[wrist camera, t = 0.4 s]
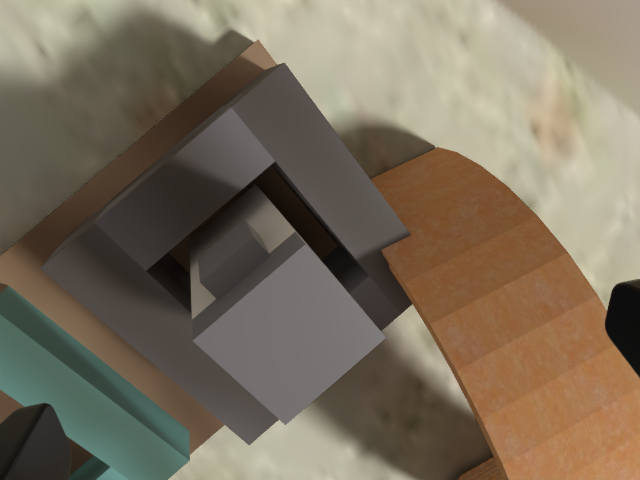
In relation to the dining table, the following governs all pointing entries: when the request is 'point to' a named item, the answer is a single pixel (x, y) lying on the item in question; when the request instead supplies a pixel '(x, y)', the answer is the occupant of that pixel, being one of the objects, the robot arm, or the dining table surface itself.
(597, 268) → the dining table surface
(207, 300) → the plug
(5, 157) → the dining table surface
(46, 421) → the robot arm
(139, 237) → the dock
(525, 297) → the arch
